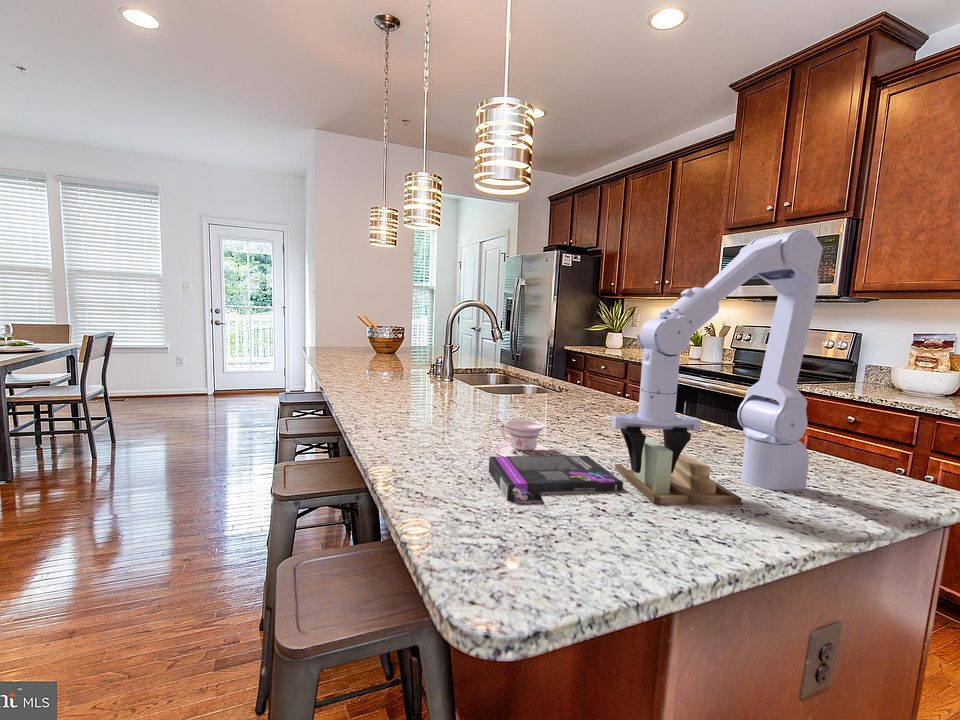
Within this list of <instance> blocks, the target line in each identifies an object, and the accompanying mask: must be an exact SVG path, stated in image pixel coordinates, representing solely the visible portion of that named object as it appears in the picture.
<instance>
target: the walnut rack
mask: <svg viewBox="0 0 960 720" xmlns="http://www.w3.org/2000/svg"><path fill="white" fill-rule="evenodd" d="M614 470H615V471H616V472H617V474H619V475H620V476H621V477H622V478H624V479H625V480H626V481H627V483H629V484H630V485H632V486H633V487H634V488H635V489H636V490H637V491H638V492H639V493H640V494H642V495H643V496H644V497H645V498H646V499H647V500H648V501H649V502H651V503H652V504H653V505H700V506H701V505H702V506H703V505H705V506H706V505H707V506H708V505H709V506H710V505H713V506H715V505H716V506H717V505H720V506H721V505H722V506H723V505H725V506H728V505H731V506H735V505H736V506H739V505H740V506H742V499H743V498H742V497H740V496H739V495H737V494H736V493H734V492H732V490H729V489H728V488H726V487H724V486H722V485H721V484H719V483H717V481H715V480H713V479H711V478H710V477H709V480H711V481H713V482H714V483H716V492H715V496H711V495H698V494H697V493H695V492H694V491H692V490H691V489H690V488H688V487H687V486H685V485H684V484H682V483H681V482H680V481H678V480H677V479H675V478H674V477H672V476H671V479H670V491H669V494H656V493H655V492H653V491H652V490H651V489H650V488H649V487H647V486H646V485H645V484H644V483H643V482H641V481H640V480H639V479H638V478H637V477H635V476H634V471H633V470H632V469H629V468H626V467H625V466H623V465H622V464H621V463H614Z"/></svg>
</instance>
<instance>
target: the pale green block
mask: <svg viewBox="0 0 960 720" xmlns="http://www.w3.org/2000/svg"><path fill="white" fill-rule="evenodd" d="M672 455H673V451H671V450H669V449H668V448H666V447H664V444H661V443H660V442H657V441H656V440H654V439H652V438H651V437H650V438H649V437H648V438H647V437H646V439H645V443H644V446H643V451H642V462H641V471H640V473H635V472H634V476H635V477H637V478H638V479H639V480H640V481H641V482H643V483H644V484H645V485H646V486H647V487H649V488H650V489H651V490H652V491H653V492H655V493H656V494H669V491H670V479H671V467H672Z"/></svg>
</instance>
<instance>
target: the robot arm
mask: <svg viewBox="0 0 960 720" xmlns="http://www.w3.org/2000/svg"><path fill="white" fill-rule="evenodd" d="M823 250H824V247H823V246H822V244H821V243H820V241H819V240H818V239H817V237H816V236H815V235H814V233H813V232H812V231H810V230H808V229H804V228H800V229H799V228H798V229H796V230H793V231H789V232H784V233H780V234H774V235H769V236H759V237H755V238H754V239H752V240H751V241H750V242H749V243H748V244H747V245H745V246H743V247H741V249H740V250H739V253H738V254H737V255H736V256H735V257H734V258H733V259H732V260H731V261H729V263H728V264H727V265H726V266H725V267H723V269H722V270H721V271H720V272H719V273H717V274H716V275H715V276H714V277H713V278H712V279H711V280H710V281H709V282H708V283H707V284H706V285H704V287H699V286H698V287H697V286H695V287H692V288H686V289H684V290H682V291H681V293H680V296H681V297H680V298H679V299H678V300H677V301H676V302H674V303H673V304H671V305H670V307H668V308H663V309H662V310H661V311H660V312H659V314H660V315H659V317H658V318H652V319H651V318H650V319H649V320H647V321H646V322H645V323H643V325H642V326H641V328H640V331H639V333H637V334H636V341H637V344H638V346H639V348H640V349H641V359H642V361H641V370H640V371H641V372H640V373H641V374H640V383H639V385H640V387H639V398H638V399H639V400H638V401H639V402H638V412H637V413H634V414H618V415H617V414H615V415H613V414H612V415H611V421H610V423H611V424H610V427H611V428H613V429H615V430H620V432H621V434H622V437H623V439H624V441H625V444H626V448H627V451H628V455H629V460H630V461H629V462H630V470H633V471H634V472H635V473H640V471H641V462H642V451H643V446H644V443H645V439H646V438H647V435H646V434H645V433H643V430H662V433H663V446H664V447H666V448H668V449H669V450H671V451H673V455H672V467H671V473H673V471H674V468H675V465H676V462H677V460H678V458H679V455H680V454H682V452H683V451H684V449H685V447H686V445H687V444H689V442H690V440H691V438H692V433H691V432H689V431H693V432H700V431H701V422H702V421H701V419H699V418H697V417H695V416H693V417H692V416H679V415H676V407H677V396H678V382H679V381H678V380H679V369H680V359H681V353H682V352H683V351H686V350H687V349H688V346H689V345H690V342H691V338H692V336H693V334H695V333H696V332H697V331H699V329H701V328H702V327H703V326H704V325H705V324H706V323H707V322H708V321H710V320H711V319H712V318H714V317H715V316H716V315H717V314H718V312H719V310H720V302H721V301H722V300H724V299H725V298H727V296H729V295H730V294H732V293H733V292H734V291H736V290H737V289H738V288H740V287H741V286H742V285H743V284H745V283H746V282H748V281H749V280H751V278H752V277H754V276H755V275H756V276H758V277H760V279H762V280H763V281H764V282H766V283H768V284H769V285H770V286H771V287H773V289H774V290H775V291H776V293H777V299H776V304H775V308H774V312H773V317H772V321H771V326H770V331H769V335H768V341H767V344H766V348H765V349H766V350H765V354H764V358H763V363H762V368H761V372H760V377H759V380H758V381H757V382H756V383H754V384H753V385H751V386H750V387H749V388H747V390H746V393H745V396H744V399H743V401H742V402H741V403H740V404H739V406H738V408H737V415H736V416H737V417H736V418H737V422H738V423H739V425H740V426H741V427H742V428H743V432H742V434H745V437H744V447H743V456H742V466H741V475H740V476H741V477H740V480H741V481H742V482H743V483H745V484H747V485H749V486H753V487H755V488H756V487H757V488H760V489H764V490H772V491H785V490H806V489H807V481H808V473H809V471H808V470H809V464H810V463H809V461H810V459H809V458H810V457H809V452H808V449H807V446H806V445H805V444H804V443H803V442H801V441H800V439H801V438H802V437H803V436H804V435H805V433H806V431H807V428H808V415H807V406H808V401H807V399H806V398H805V396H803V394H802V393H801V392H800V391H799V389H798V388H797V383H798V378H799V375H800V371H801V367H802V366H801V365H802V363H803V357H804V353H805V350H806V349H805V348H806V344H807V340H808V335H809V331H810V326H811V321H812V316H813V313H814V307H815V303H816V300H817V296H818V290H819V284H820V283H819V273H818V272H819V269H820V264H821V258H822V254H823ZM772 400H775V401H772ZM688 430H689V431H688Z"/></svg>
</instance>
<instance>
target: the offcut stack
mask: <svg viewBox="0 0 960 720" xmlns="http://www.w3.org/2000/svg"><path fill="white" fill-rule="evenodd" d="M710 472H711V466H710V465H708V464H706V463H703V462H702V461H700V460H698V459H696V458H694V457H692V456H690V455H688V454H687V453H685V454H684V453H681V454H680V455H679V458H678V460H677V462H676V465H675V468H674V471H673V473H671V476H672V477H674V478H675V479H677V480H678V481H680V482H681V483H682V484H684V485H685V486H687V487H688V488H690V489H691V490H692V491H694V492H695V493H697V494H698V495H711V496H715V492H716V483H717V482H716V483H714V482H715V481H714V480H713V481H714V482H713V481H711V480H712V479H711V480H709V478H710V474H711V473H710Z"/></svg>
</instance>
